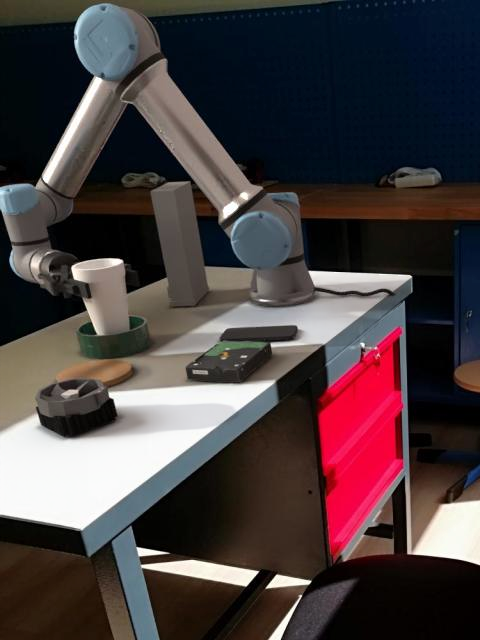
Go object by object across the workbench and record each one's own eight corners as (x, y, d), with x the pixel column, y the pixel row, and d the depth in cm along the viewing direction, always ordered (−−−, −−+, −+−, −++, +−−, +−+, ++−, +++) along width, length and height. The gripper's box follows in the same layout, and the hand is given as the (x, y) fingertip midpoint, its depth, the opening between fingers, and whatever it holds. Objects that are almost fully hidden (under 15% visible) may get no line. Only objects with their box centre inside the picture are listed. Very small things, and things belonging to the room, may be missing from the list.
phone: (226, 327, 156) (298, 324, 155) (227, 331, 157) (298, 328, 156) (218, 339, 150) (292, 336, 149) (218, 343, 150) (293, 340, 149)
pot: (163, 337, 156) (158, 315, 153) (129, 359, 145) (124, 336, 142) (105, 335, 159) (99, 314, 156) (68, 357, 148) (62, 334, 145)
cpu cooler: (23, 391, 116) (83, 371, 123) (33, 425, 119) (92, 404, 126) (56, 406, 110) (117, 385, 117) (66, 442, 113) (125, 419, 120)
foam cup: (123, 339, 145) (106, 270, 138) (79, 338, 147) (61, 270, 140) (146, 324, 153) (131, 258, 146) (104, 324, 155) (88, 258, 148)
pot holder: (145, 365, 141) (144, 360, 141) (108, 391, 130) (106, 386, 130) (83, 363, 144) (82, 358, 144) (42, 388, 133) (40, 383, 133)
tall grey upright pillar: (184, 292, 187) (164, 182, 174) (209, 291, 187) (190, 181, 174) (169, 307, 175) (146, 191, 162) (195, 306, 175) (174, 190, 162)
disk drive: (241, 385, 131) (273, 354, 143) (238, 369, 129) (271, 340, 141) (186, 382, 133) (222, 352, 145) (183, 366, 132) (220, 338, 144)
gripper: (110, 277, 165) (167, 291, 151) (10, 301, 151) (63, 319, 138) (102, 241, 161) (160, 252, 147) (-2, 262, 147) (51, 277, 134)
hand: (113, 284), depth 142 cm, fingers closed on foam cup, 9 cm apart
